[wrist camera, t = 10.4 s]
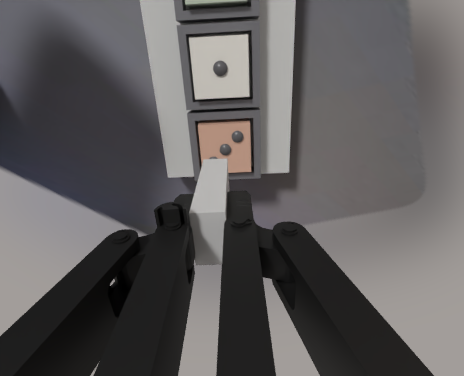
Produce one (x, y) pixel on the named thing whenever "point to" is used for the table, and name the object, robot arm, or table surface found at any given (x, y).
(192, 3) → the two dot tile
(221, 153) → the three dot tile
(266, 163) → the tile tray
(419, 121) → the table surface
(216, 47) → the one dot tile
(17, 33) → the table surface
